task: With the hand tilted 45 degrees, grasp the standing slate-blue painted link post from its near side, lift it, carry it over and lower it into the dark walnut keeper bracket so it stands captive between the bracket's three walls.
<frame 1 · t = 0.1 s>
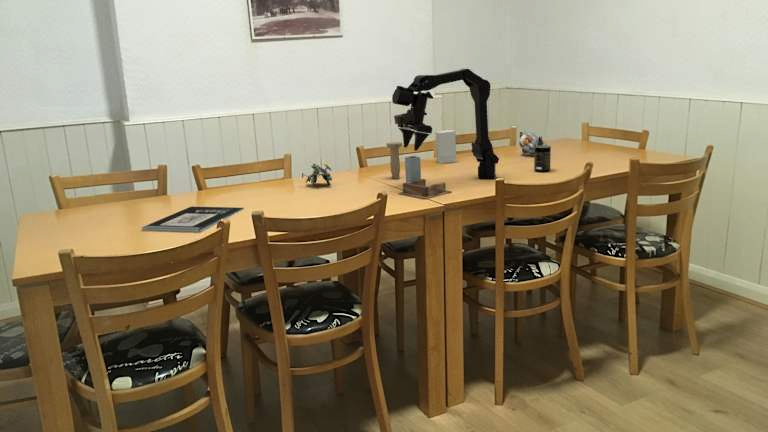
hand: (410, 149, 244), 15 cm above the table, tool pointing down, fingers open, 9 cm apart
sketchbook: (195, 221, 217), on the table
passion flower: (318, 186, 261), on the table
handle: (395, 178, 268), on the table
link post: (413, 187, 249), on the table
lucky cat figurine: (534, 155, 307), on the table
keeper bracket: (425, 193, 239), on the table
skincare box: (446, 162, 299), on the table
supplement container: (542, 171, 269), on the table
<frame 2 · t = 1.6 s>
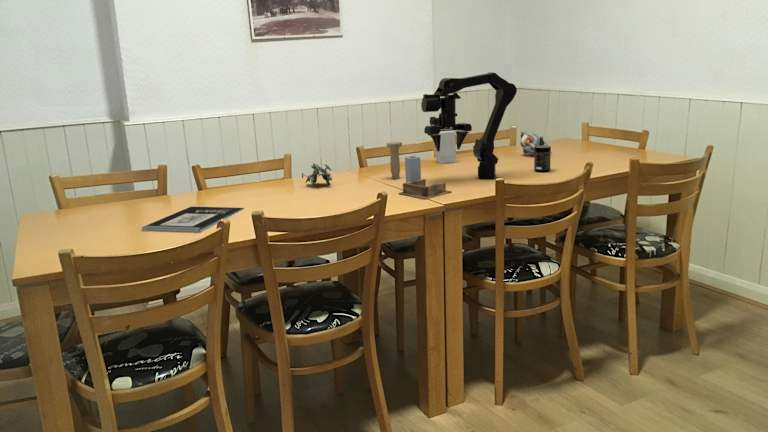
hand: (448, 150, 253), 13 cm above the table, tool pointing down, fingers open, 9 cm apart
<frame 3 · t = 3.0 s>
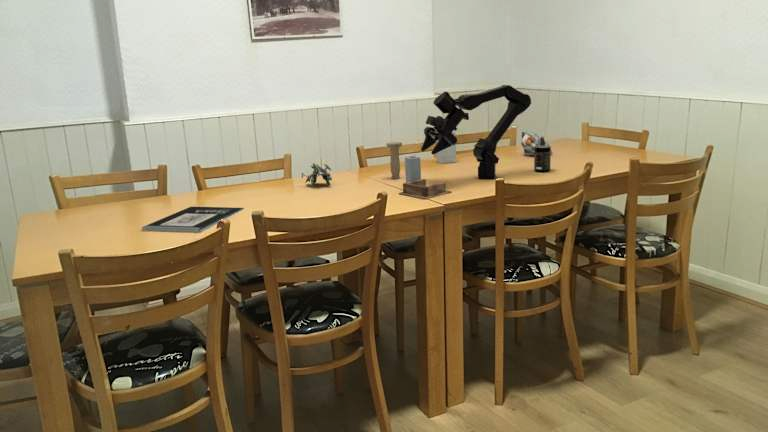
hand: (426, 152, 248), 13 cm above the table, tool tilted 45°, fingers open, 9 cm apart
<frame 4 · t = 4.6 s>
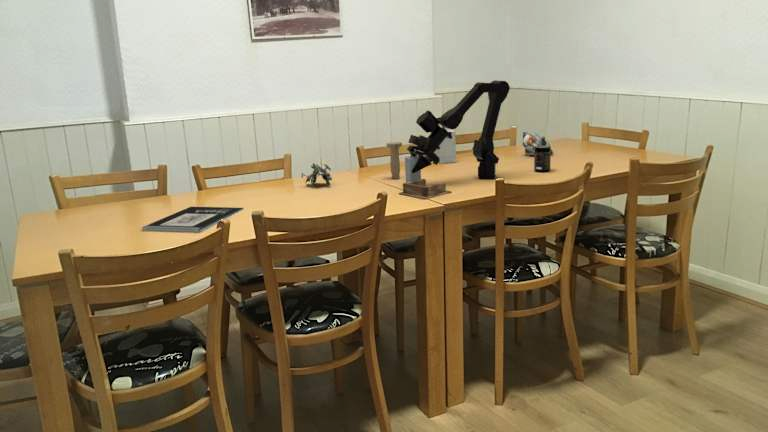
hand: (409, 171, 247), 7 cm above the table, tool tilted 45°, fingers closed on link post, 4 cm apart
link post: (413, 187, 249), on the table, touching gripper
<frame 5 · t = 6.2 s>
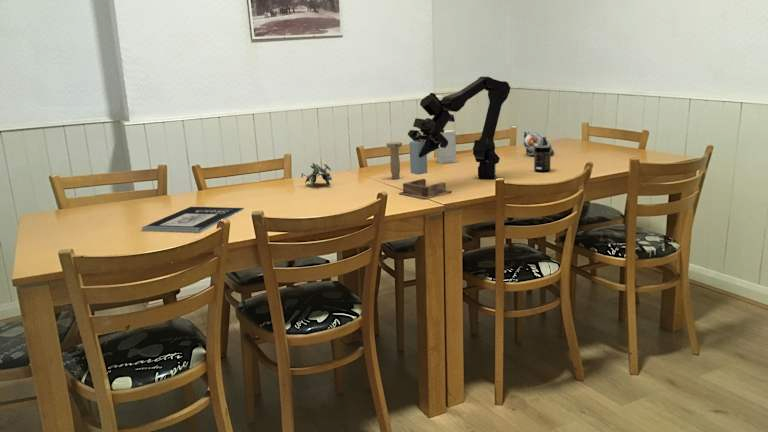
hand: (415, 156, 239), 14 cm above the table, tool tilted 45°, fingers closed on link post, 4 cm apart
link post: (419, 173, 241), point 7 cm above the table, touching gripper
when the fingers open (8 cm above the table, at t = 7.9 s): link post stays where it is, resting on keeper bracket.
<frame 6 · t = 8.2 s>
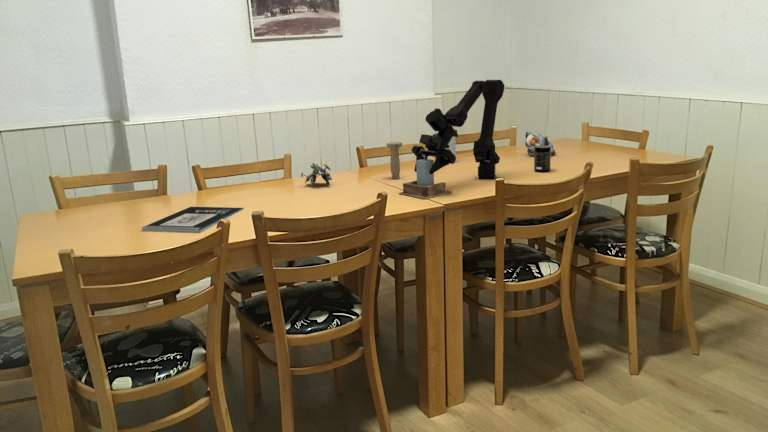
hand: (422, 172, 236), 8 cm above the table, tool tilted 45°, fingers open, 7 cm apart
link post: (425, 191, 239), resting on keeper bracket
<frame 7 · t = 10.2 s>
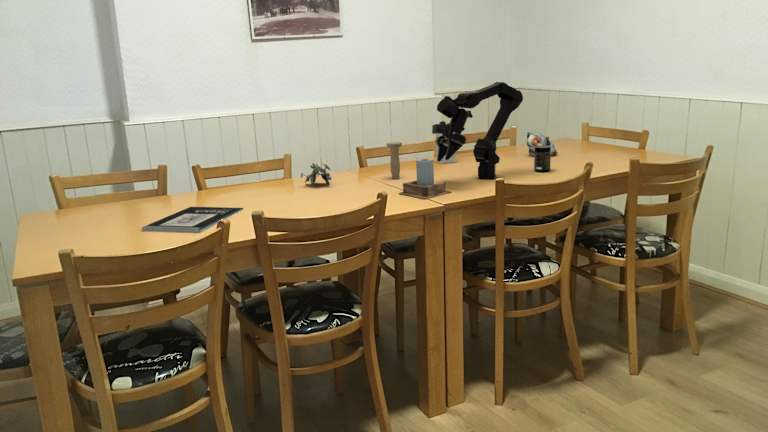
hand: (442, 160, 245), 10 cm above the table, tool tilted 30°, fingers open, 9 cm apart
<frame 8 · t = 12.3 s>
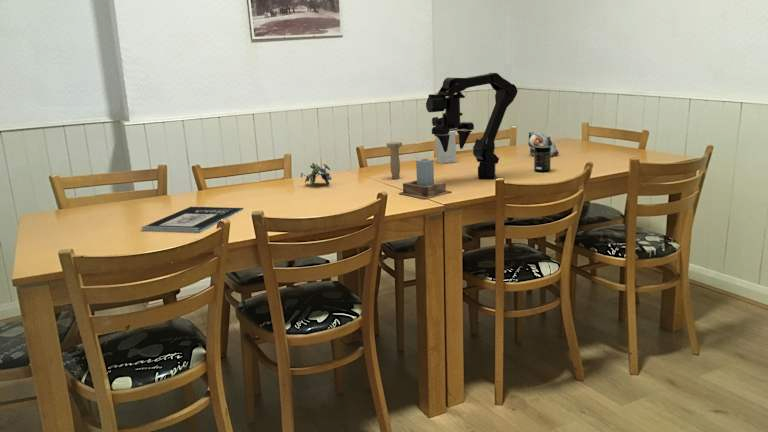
hand: (453, 150, 252), 13 cm above the table, tool pointing down, fingers open, 9 cm apart
at the end: link post inside the target area on the keeper bracket (0.0 cm from its centre), point 0.5 cm above the keeper bracket's base; link post tilted 0°; the gripper is holding nothing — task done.
